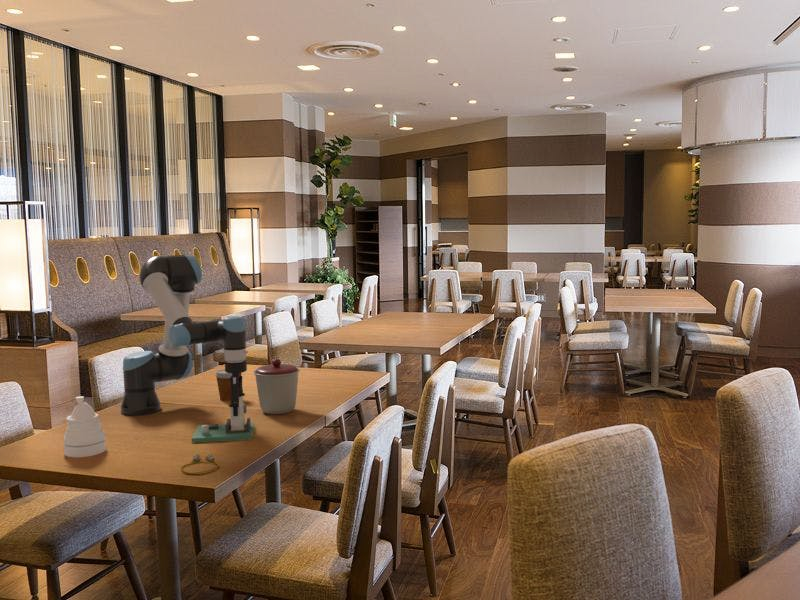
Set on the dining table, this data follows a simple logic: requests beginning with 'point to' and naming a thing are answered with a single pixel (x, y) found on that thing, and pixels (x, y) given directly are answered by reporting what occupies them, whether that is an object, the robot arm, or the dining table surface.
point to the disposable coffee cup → (224, 384)
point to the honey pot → (83, 432)
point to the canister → (277, 387)
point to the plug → (242, 418)
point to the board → (222, 432)
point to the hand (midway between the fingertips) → (237, 419)
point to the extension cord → (196, 458)
